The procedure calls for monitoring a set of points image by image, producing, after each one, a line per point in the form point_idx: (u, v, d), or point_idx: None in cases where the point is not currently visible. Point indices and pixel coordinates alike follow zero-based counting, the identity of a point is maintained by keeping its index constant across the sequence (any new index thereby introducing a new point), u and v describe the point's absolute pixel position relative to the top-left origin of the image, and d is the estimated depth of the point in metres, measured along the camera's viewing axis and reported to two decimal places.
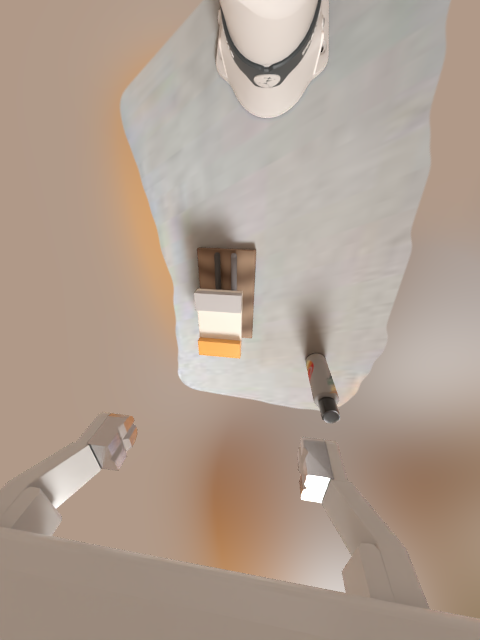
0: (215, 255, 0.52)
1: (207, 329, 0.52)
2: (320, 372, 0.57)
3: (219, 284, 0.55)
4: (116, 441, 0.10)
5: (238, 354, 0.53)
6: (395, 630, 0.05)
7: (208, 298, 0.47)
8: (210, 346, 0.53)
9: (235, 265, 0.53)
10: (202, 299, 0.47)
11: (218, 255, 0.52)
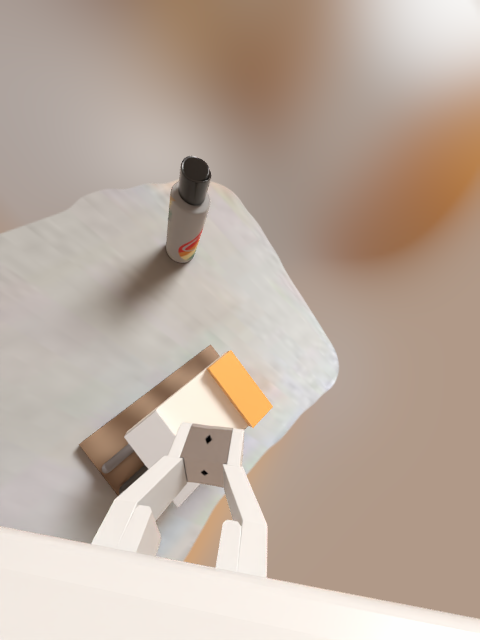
0: None
1: (228, 426, 0.30)
2: (174, 234, 0.36)
3: None
4: None
5: (226, 357, 0.31)
6: (395, 630, 0.05)
7: None
8: (246, 403, 0.30)
9: (119, 454, 0.32)
10: None
11: (121, 489, 0.31)
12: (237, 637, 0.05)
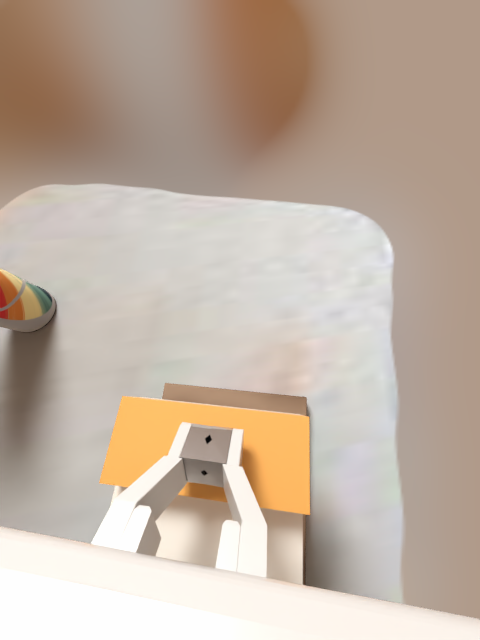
0: None
1: None
2: None
3: None
4: None
5: (122, 419, 0.12)
6: (395, 630, 0.05)
7: None
8: (246, 472, 0.11)
9: None
10: None
11: None
12: (237, 637, 0.05)
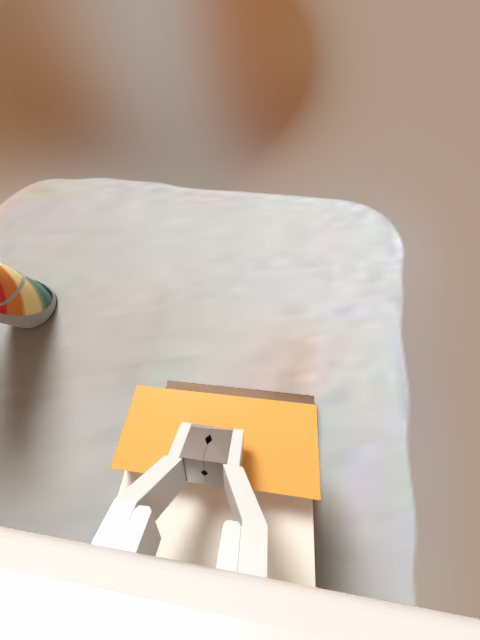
0: None
1: (272, 547, 0.10)
2: None
3: None
4: None
5: (136, 406, 0.12)
6: (395, 630, 0.05)
7: None
8: (256, 457, 0.11)
9: None
10: None
11: None
12: (237, 637, 0.05)
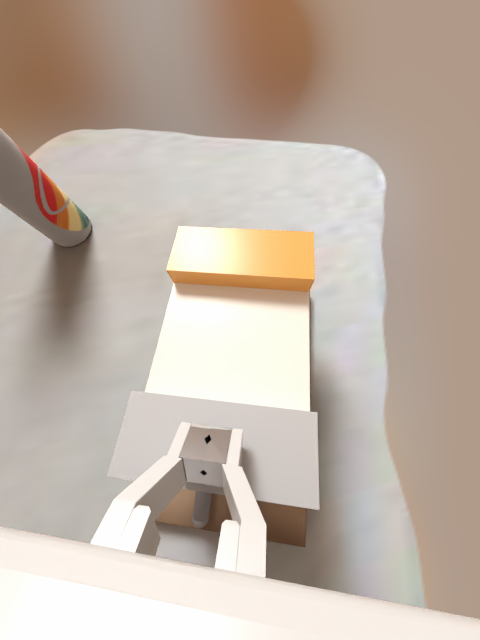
0: None
1: (280, 319, 0.15)
2: (5, 197, 0.23)
3: None
4: None
5: (180, 237, 0.16)
6: (395, 630, 0.05)
7: (251, 472, 0.10)
8: (270, 260, 0.15)
9: None
10: (279, 468, 0.10)
11: None
12: (237, 637, 0.05)
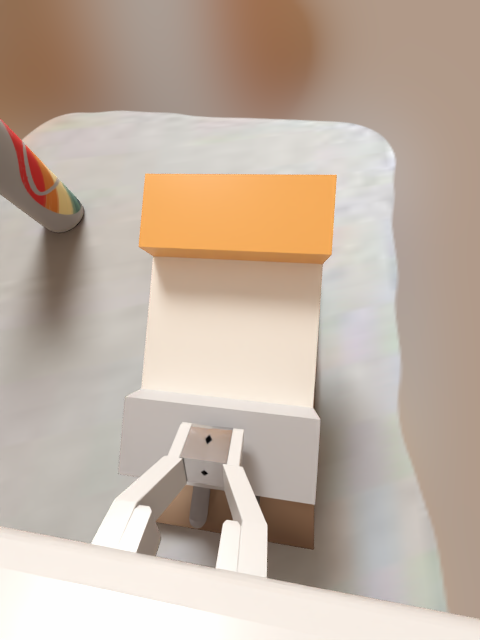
0: None
1: (284, 302, 0.13)
2: None
3: None
4: None
5: (149, 193, 0.12)
6: (395, 630, 0.05)
7: (251, 473, 0.11)
8: (272, 227, 0.11)
9: (195, 487, 0.18)
10: (278, 470, 0.11)
11: None
12: (237, 637, 0.05)
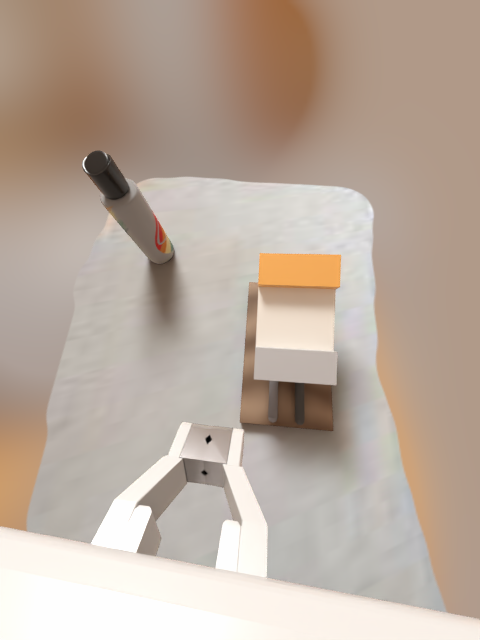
0: (302, 421, 0.33)
1: (319, 306, 0.29)
2: (141, 237, 0.38)
3: None
4: None
5: (262, 262, 0.28)
6: (395, 630, 0.05)
7: (310, 375, 0.27)
8: (315, 275, 0.28)
9: (270, 402, 0.34)
10: (321, 373, 0.27)
11: (297, 420, 0.33)
12: (237, 637, 0.05)
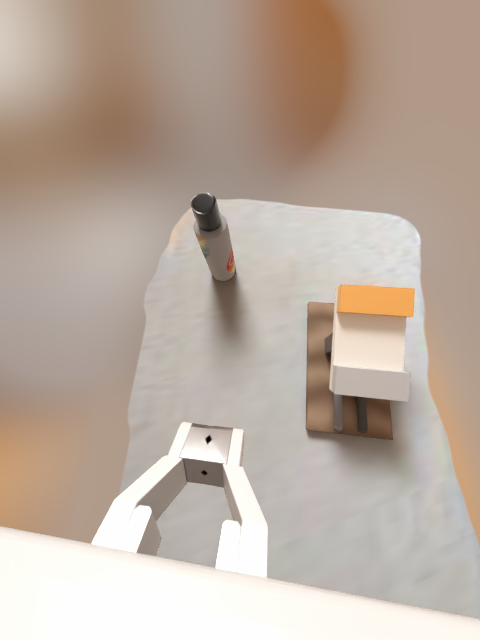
0: (366, 430, 0.37)
1: (391, 331, 0.33)
2: (218, 260, 0.42)
3: None
4: None
5: (343, 292, 0.33)
6: (395, 630, 0.05)
7: (385, 392, 0.31)
8: (391, 306, 0.32)
9: (336, 413, 0.38)
10: (395, 390, 0.31)
11: (361, 429, 0.37)
12: (237, 637, 0.05)
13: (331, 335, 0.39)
